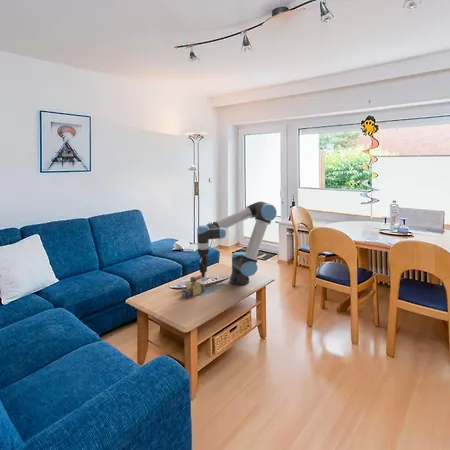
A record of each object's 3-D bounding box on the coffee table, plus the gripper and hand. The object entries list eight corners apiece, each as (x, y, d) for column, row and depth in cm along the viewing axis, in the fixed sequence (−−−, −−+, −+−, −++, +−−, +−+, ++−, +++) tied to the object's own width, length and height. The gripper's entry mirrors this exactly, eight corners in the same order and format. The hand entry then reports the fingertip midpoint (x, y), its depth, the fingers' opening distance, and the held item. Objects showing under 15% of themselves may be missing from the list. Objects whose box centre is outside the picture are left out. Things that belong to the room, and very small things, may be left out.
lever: (193, 282, 218) (193, 279, 217) (189, 281, 221) (189, 277, 220) (205, 277, 226) (205, 274, 226) (201, 276, 229) (201, 273, 229)
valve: (200, 288, 231) (200, 276, 229) (206, 291, 226) (206, 279, 224) (180, 296, 219) (179, 283, 217) (186, 299, 214) (186, 286, 212)
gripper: (201, 245, 223) (201, 277, 227) (194, 250, 210) (195, 283, 215) (211, 246, 221) (211, 278, 225) (205, 251, 208) (205, 285, 213)
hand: (203, 280), depth 220 cm, fingers closed
